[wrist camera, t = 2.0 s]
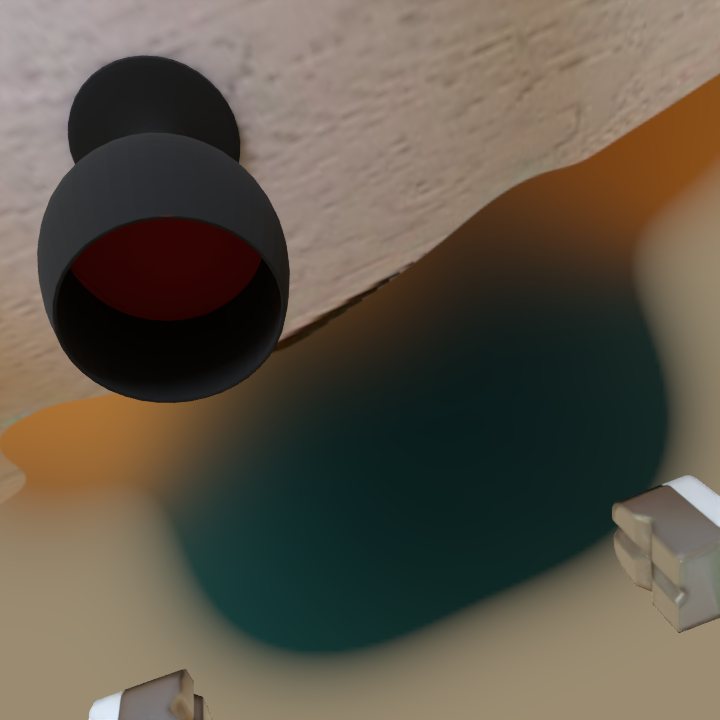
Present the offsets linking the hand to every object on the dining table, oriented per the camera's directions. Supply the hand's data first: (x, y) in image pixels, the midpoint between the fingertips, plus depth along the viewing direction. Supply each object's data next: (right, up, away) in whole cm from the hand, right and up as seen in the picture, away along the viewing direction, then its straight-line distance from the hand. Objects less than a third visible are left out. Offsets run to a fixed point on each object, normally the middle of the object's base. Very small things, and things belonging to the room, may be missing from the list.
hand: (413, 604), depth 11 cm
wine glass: (-14, +18, +28) cm, 36 cm away
